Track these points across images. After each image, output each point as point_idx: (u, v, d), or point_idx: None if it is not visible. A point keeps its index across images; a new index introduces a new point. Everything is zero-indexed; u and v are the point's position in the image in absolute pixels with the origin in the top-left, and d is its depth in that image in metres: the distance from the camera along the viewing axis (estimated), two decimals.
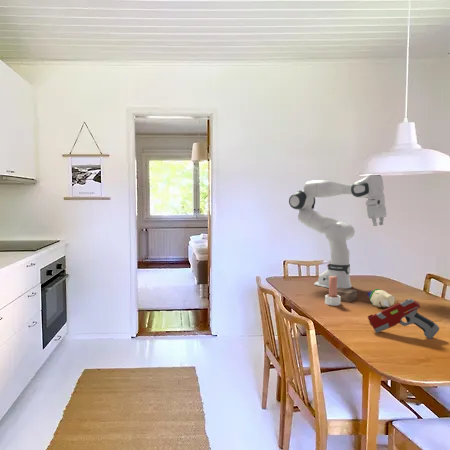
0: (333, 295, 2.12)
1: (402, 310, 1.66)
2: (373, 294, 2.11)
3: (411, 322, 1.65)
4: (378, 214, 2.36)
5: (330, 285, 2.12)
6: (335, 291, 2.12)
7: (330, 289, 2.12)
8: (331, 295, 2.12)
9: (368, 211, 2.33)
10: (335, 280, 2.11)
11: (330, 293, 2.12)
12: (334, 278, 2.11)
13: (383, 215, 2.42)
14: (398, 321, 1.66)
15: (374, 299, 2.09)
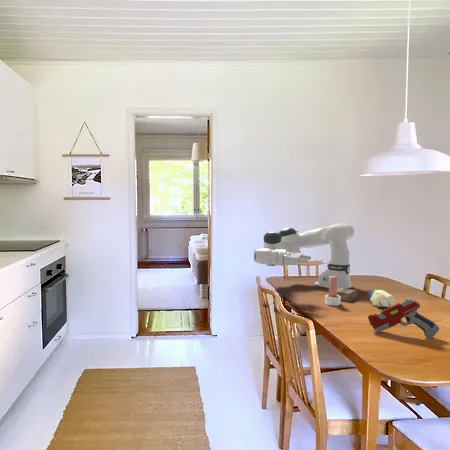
0: (333, 295, 2.12)
1: (402, 310, 1.66)
2: (373, 294, 2.11)
3: (411, 322, 1.65)
4: (296, 255, 2.15)
5: (330, 285, 2.12)
6: (335, 291, 2.12)
7: (330, 289, 2.12)
8: (331, 295, 2.12)
9: (289, 263, 2.10)
10: (335, 280, 2.11)
11: (330, 293, 2.12)
12: (334, 278, 2.11)
13: (300, 254, 2.22)
14: (398, 321, 1.66)
15: (374, 299, 2.09)
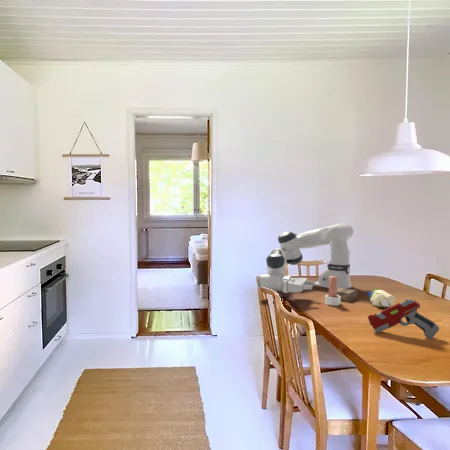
0: (333, 295, 2.12)
1: (402, 310, 1.66)
2: (373, 294, 2.11)
3: (411, 322, 1.65)
4: (300, 282, 2.15)
5: (330, 285, 2.12)
6: (335, 291, 2.12)
7: (330, 289, 2.12)
8: (331, 295, 2.12)
9: (293, 290, 2.10)
10: (335, 280, 2.11)
11: (330, 293, 2.12)
12: (334, 278, 2.11)
13: (304, 279, 2.22)
14: (398, 321, 1.66)
15: (374, 299, 2.09)
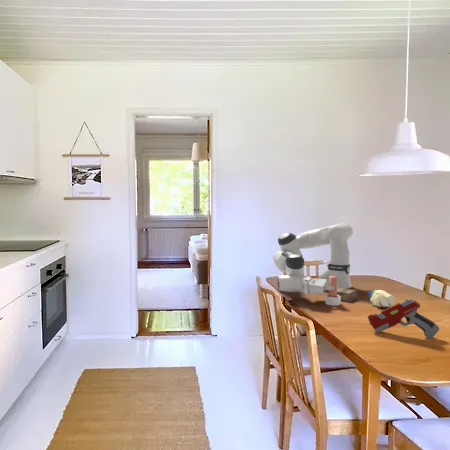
0: (333, 295, 2.12)
1: (402, 310, 1.66)
2: (373, 294, 2.11)
3: (411, 322, 1.65)
4: (321, 283, 2.12)
5: (330, 285, 2.12)
6: (335, 291, 2.12)
7: None
8: (331, 295, 2.12)
9: (315, 292, 2.07)
10: (335, 280, 2.11)
11: (330, 293, 2.12)
12: (334, 278, 2.11)
13: (324, 280, 2.19)
14: (398, 321, 1.66)
15: (374, 299, 2.09)
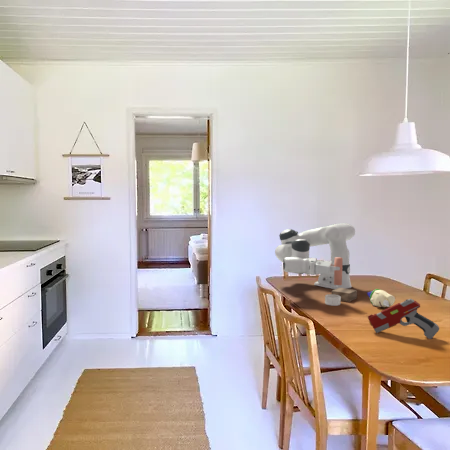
0: (338, 276, 2.14)
1: (402, 310, 1.66)
2: (373, 294, 2.11)
3: (411, 322, 1.65)
4: (326, 264, 2.14)
5: None
6: (340, 272, 2.15)
7: (335, 270, 2.15)
8: (336, 276, 2.15)
9: (321, 272, 2.09)
10: (341, 261, 2.14)
11: (335, 274, 2.15)
12: (340, 259, 2.14)
13: (329, 262, 2.22)
14: (398, 321, 1.66)
15: (374, 299, 2.09)
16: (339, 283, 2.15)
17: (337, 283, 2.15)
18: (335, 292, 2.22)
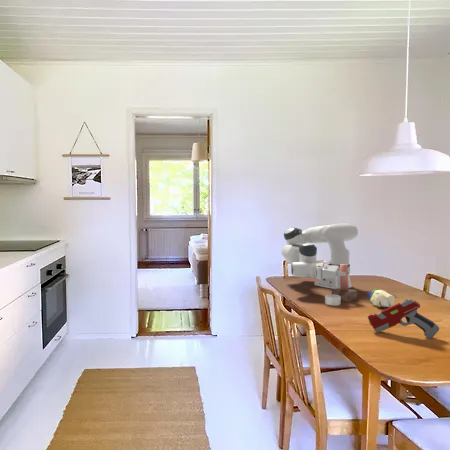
0: (344, 282, 2.22)
1: (402, 310, 1.66)
2: (373, 294, 2.11)
3: (411, 322, 1.65)
4: (333, 269, 2.22)
5: None
6: (346, 278, 2.22)
7: (341, 276, 2.23)
8: (342, 282, 2.22)
9: (327, 277, 2.17)
10: (346, 268, 2.22)
11: (341, 280, 2.23)
12: (345, 266, 2.21)
13: (336, 267, 2.29)
14: (398, 321, 1.66)
15: (374, 299, 2.09)
16: (345, 289, 2.22)
17: (343, 289, 2.22)
18: (335, 292, 2.22)
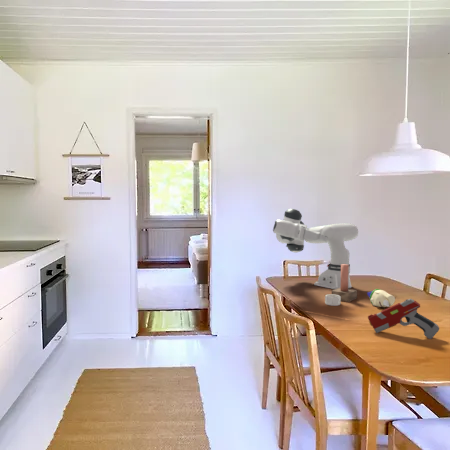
0: (345, 282, 2.22)
1: (402, 310, 1.66)
2: (373, 294, 2.11)
3: (411, 322, 1.65)
4: (315, 232, 2.23)
5: (342, 273, 2.22)
6: (347, 278, 2.22)
7: (342, 276, 2.22)
8: (343, 282, 2.22)
9: (309, 237, 2.18)
10: (347, 268, 2.21)
11: (342, 280, 2.23)
12: (346, 266, 2.21)
13: (318, 232, 2.31)
14: (398, 321, 1.66)
15: (374, 299, 2.09)
16: (345, 289, 2.22)
17: (343, 289, 2.22)
18: (335, 292, 2.22)
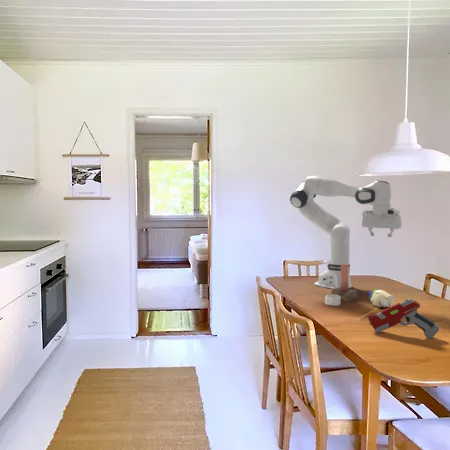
0: (345, 282, 2.22)
1: (402, 310, 1.66)
2: (373, 294, 2.11)
3: (411, 322, 1.65)
4: None
5: (342, 272, 2.23)
6: (346, 278, 2.22)
7: (342, 276, 2.23)
8: (343, 282, 2.22)
9: (399, 221, 2.16)
10: (346, 268, 2.22)
11: (342, 280, 2.23)
12: (345, 266, 2.21)
13: None
14: (398, 321, 1.66)
15: (374, 299, 2.09)
16: (345, 289, 2.22)
17: (343, 289, 2.22)
18: (335, 292, 2.22)
